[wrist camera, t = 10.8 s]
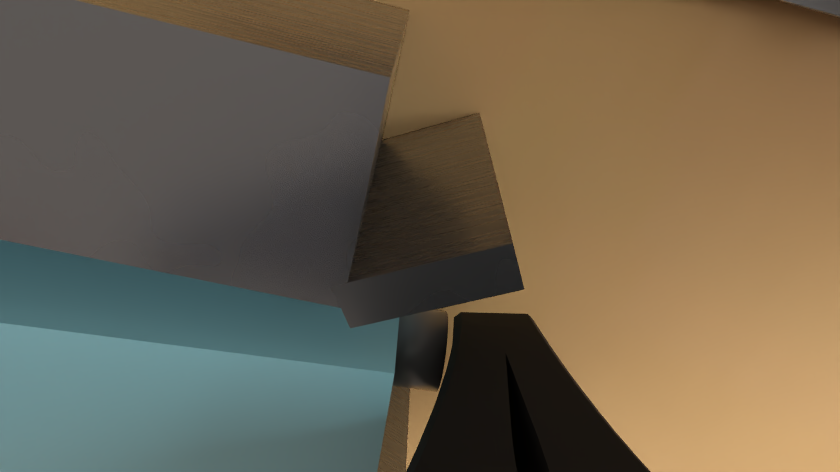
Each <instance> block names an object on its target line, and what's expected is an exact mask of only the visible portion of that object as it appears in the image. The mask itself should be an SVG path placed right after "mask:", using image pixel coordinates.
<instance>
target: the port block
mask: <svg viewBox="0 0 840 472" xmlns="http://www.w3.org/2000/svg"><path fill="white" fill-rule="evenodd" d="M408 15H409V10H406V9H402V8H398V7H394V6H390V5H386V4H382V3H379V2H375V1H371V0H0V240H4V241H9V242H14V243H19V244H24V245H29V246H34V247H39V248H44V249H49V250H54V251H59V252H64V253H69V254H74V255H79V256H84V257H89V258H94V259H99V260H104V261H109V262H114V263H119V264H124V265H129V266H134V267H139V268H144V269H149V270H154V271H159V272H164V273H169V274H174V275H179V276H184V277H189V278H194V279H199V280H203V281H208V282H213V283H218V284H223V285H228V286H233V287H238V288H243V289H248V290H253V291H258V292H263V293H268V294H273V295H278V296H283V297H288V298H293V299H298V300H303V301H308V302H313V303H318V304H323V305H328V306H333V307H338V308H341V310H342V312H343V314H344V316H345V318H346V320H347V323H348V325H349V327H350V328H354V327H359V326H363V325H368V324H372V323H377V322H381V321H386V320H390V319H394V318H399V317H403V316H408V315H412V314H417V313H421V312H426V311H430V310H434V309H439V308H443V307H448V306H452V305H457V304H461V303H466V302H470V301H475V300H479V299H483V298H488V297H492V296H497V295H501V294H506V293H510V292H515V291H519V290H523V289H524V287H523V283H522V278H521V274H520V270H519V266H518V262H517V258H516V254H515V250H514V246H513V242H512V238H511V234H510V230H509V226H508V222H507V218H506V215H505V211H504V207H503V203H502V199H501V195H500V191H499V187H498V183H497V180H496V176H495V172H494V168H493V164H492V160H491V156H490V152H489V148H488V144H487V141H486V137H485V133H484V129H483V125H482V121H481V117H480V113H478V114H474V115H471V116H467V117H464V118H460V119H456V120H453V121H449V122H446V123H442V124H439V125H435V126H432V127H428V128H424V129H421V130H417V131H414V132H410V133H407V134H403V135H400V136H396V137H392V138H389V139H385V140H382V138H383V133H384V128H385V123H386V119H387V114H388V109H389V105H390V100H391V95H392V90H393V86H394V81H395V76H396V72H397V67H398V62H399V58H400V53H401V48H402V43H403V39H404V34H405V29H406V25H407V20H408ZM409 395H410V389H409V388H406V387H398V386H392V391H391V396H390V402H389V408H388V413H387V419H386V425H385V430H384V436H383V442H382V447H381V453H380V459H379V464H378V470H377V472H406V455H407V435H408V415H409Z"/></svg>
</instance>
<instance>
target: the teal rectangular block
mask: <svg viewBox="0 0 840 472" xmlns="http://www.w3.org/2000/svg"><path fill="white" fill-rule="evenodd" d="M447 334H448V316H447V312H446V311H441V310H430V311H426V312H421V313H417V314H412V315H408V316H403V317H399V318H394V319H390V320H386V321H381V322H377V323H372V324H368V325H363V326H359V327H354V328H350V327H349V325H348V323H347V320H346V318H345V316H344V314H343V312H342V310H341V308H338V307H333V306H328V305H323V304H318V303H313V302H308V301H303V300H298V299H293V298H288V297H283V296H278V295H273V294H268V293H263V292H258V291H253V290H248V289H243V288H238V287H233V286H228V285H223V284H218V283H213V282H208V281H203V280H199V279H194V278H189V277H184V276H179V275H174V274H169V273H164V272H159V271H154V270H149V269H144V268H139V267H134V266H129V265H124V264H119V263H114V262H109V261H104V260H99V259H94V258H89V257H84V256H79V255H74V254H69V253H64V252H59V251H54V250H49V249H44V248H39V247H34V246H29V245H24V244H19V243H14V242H9V241H4V240H0V472H377V470H378V464H379V459H380V453H381V447H382V442H383V436H384V430H385V425H386V419H387V413H388V408H389V402H390V396H391V391H392V386H398V387H406V388H414V389H422V390H430V391H437V390H438V389H439V386H440V383H441V379H442V374H443V369H444V362H445V355H446V347H447Z"/></svg>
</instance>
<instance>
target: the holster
mask: <svg viewBox="0 0 840 472" xmlns="http://www.w3.org/2000/svg"><path fill="white" fill-rule="evenodd" d="M778 1H781V2H785V3H789V4H792V5H796V6H799V7H803V8H806V9H810V10H814V11H817V12H821V13H824V14H828V15H831V16H835V17H839V18H840V0H778Z"/></svg>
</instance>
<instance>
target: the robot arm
mask: <svg viewBox="0 0 840 472" xmlns="http://www.w3.org/2000/svg"><path fill="white" fill-rule="evenodd" d="M406 472H650V471H649V470H648V468H647V467H646V466H645V465H644V464H643V463H642V462H641V461H640V460H639V459H638V457H637V456H636V455H635V454H634V453H633V452H632V450H631V449H630V448H629V447H628V446H627V445H626V444H625V442H624V441H623V440H622V439H621V438H620V437H619V435H618V434H617V433H616V432H615V431H614V430H613V428H612V427H611V426H610V425H609V423H608V422H607V421H606V420H605V419H604V417H603V416H602V415H601V414H600V412H599V411H598V410H597V409H596V407H595V406H594V405H593V403H592V402H591V401H590V400H589V398H588V397H587V396H586V394H585V393H584V392H583V391H582V389H581V388H580V387H579V385H578V384H577V383H576V381H575V380H574V379H573V377H572V376H571V375H570V373H569V372H568V371H567V369H566V368H565V366H564V365H563V364H562V362H561V361H560V359H559V358H558V356H557V355H556V354H555V352H554V351H553V349H552V348H551V346H550V345H549V343H548V342H547V340H546V339H545V337H544V336H543V334H542V333H541V331H540V330H539V328H538V327H537V325H536V324H535V322H534V320H533V319H532V318H531V317H530V316H529V315H528V314H507V313H469V312H461V313H459V314H458V315H457V316H455V317H454V328H453V344H452V349H451V354H450V358H449V362H448V366H447V369H446V372H445V376H444V379H443V382H442V385H441V388H440V391H439V394H438V397H437V400H436V403H435V406H434V408H433V411H432V413H431V416H430V418H429V421H428V423H427V425H426V428H425V430H424V433H423V435H422V438H421V440H420V442H419V445H418V447H417V449H416V452H415V454H414V456H413V458H412V460H411V462H410V465H409V467H408V469H407V471H406Z"/></svg>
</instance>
